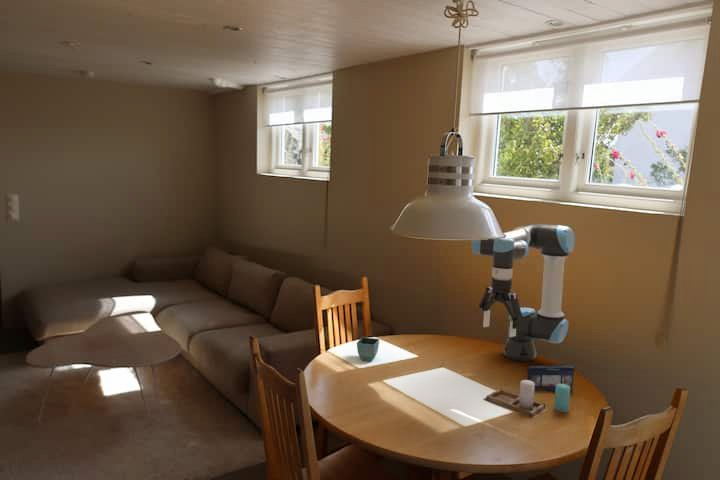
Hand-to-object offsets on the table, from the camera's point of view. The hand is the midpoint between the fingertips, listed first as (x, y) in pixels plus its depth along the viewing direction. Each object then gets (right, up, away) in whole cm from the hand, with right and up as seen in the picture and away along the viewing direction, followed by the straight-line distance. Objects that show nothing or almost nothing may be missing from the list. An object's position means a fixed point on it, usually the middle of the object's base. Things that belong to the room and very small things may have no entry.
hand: (499, 331), depth 201 cm
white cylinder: (+8, -28, -7) cm, 30 cm away
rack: (+5, -28, -4) cm, 29 cm away
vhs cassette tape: (+24, -26, +11) cm, 37 cm away
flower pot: (-51, -21, +42) cm, 69 cm away
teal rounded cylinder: (+21, -29, -8) cm, 37 cm away
